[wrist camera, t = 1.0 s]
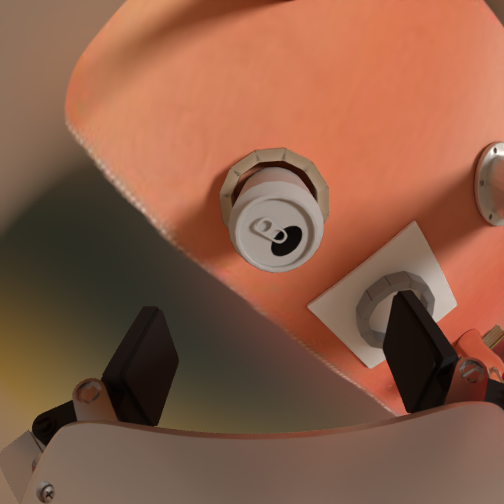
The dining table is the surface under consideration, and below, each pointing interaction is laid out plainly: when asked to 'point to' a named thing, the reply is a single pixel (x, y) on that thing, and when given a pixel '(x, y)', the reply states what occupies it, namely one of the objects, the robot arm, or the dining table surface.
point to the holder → (383, 293)
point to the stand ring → (264, 156)
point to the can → (275, 221)
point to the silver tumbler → (480, 353)
